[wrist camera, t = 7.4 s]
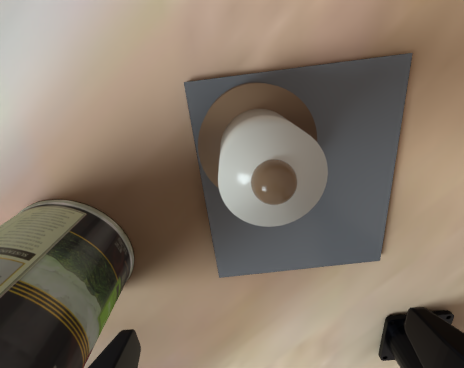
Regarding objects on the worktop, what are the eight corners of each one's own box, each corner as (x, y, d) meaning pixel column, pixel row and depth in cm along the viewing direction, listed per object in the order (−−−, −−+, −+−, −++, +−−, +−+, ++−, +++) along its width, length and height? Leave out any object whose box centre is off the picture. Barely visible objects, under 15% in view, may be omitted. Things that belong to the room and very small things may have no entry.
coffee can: (154, 233, 20) (30, 502, 8) (110, 309, 24) (-26, 585, 11) (24, 174, 18) (-477, 416, 5) (-3, 268, 22) (-346, 555, 9)
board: (376, 255, 22) (379, 260, 21) (219, 272, 22) (219, 277, 22) (405, 53, 15) (412, 52, 15) (185, 82, 16) (183, 82, 15)
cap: (295, 177, 15) (336, 235, 10) (225, 185, 15) (225, 248, 10) (294, 104, 14) (343, 122, 8) (215, 113, 14) (208, 139, 8)
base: (304, 179, 18) (316, 193, 16) (210, 190, 18) (207, 206, 16) (304, 75, 15) (318, 75, 13) (193, 89, 15) (187, 92, 13)
